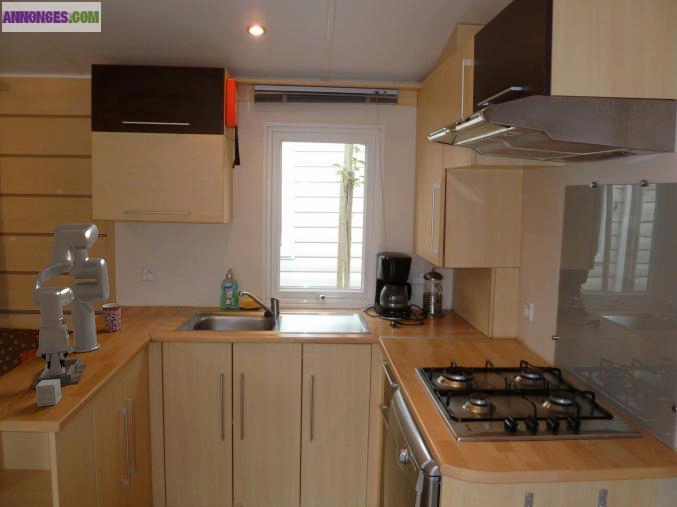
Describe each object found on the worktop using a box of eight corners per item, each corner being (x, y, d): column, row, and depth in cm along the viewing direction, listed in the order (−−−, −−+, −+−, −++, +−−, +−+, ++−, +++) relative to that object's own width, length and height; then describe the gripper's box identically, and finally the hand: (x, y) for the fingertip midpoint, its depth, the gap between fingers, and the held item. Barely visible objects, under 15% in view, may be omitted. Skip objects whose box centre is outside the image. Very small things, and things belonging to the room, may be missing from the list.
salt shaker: (61, 375, 213) (59, 342, 212) (68, 378, 210) (65, 345, 208) (46, 379, 209) (43, 346, 207) (52, 382, 205) (49, 349, 204)
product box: (62, 398, 193) (60, 378, 192) (56, 405, 187) (54, 384, 186) (43, 399, 192) (41, 379, 191) (36, 406, 186) (35, 386, 185)
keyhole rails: (48, 366, 224) (48, 361, 224) (80, 363, 228) (80, 357, 227) (37, 385, 203) (36, 378, 203) (72, 381, 207) (72, 375, 206)
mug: (119, 332, 279) (117, 306, 277) (101, 333, 279) (99, 307, 277) (127, 326, 292) (125, 301, 290) (110, 326, 291) (108, 301, 289)
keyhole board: (43, 369, 223) (43, 367, 223) (85, 365, 228) (85, 363, 228) (31, 388, 203) (31, 386, 202) (78, 383, 208) (78, 380, 207)
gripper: (77, 318, 213) (81, 364, 215) (30, 322, 208) (34, 369, 210) (74, 323, 206) (78, 370, 208) (26, 327, 201) (30, 375, 203)
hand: (56, 369), depth 209 cm, fingers closed on salt shaker, 3 cm apart
